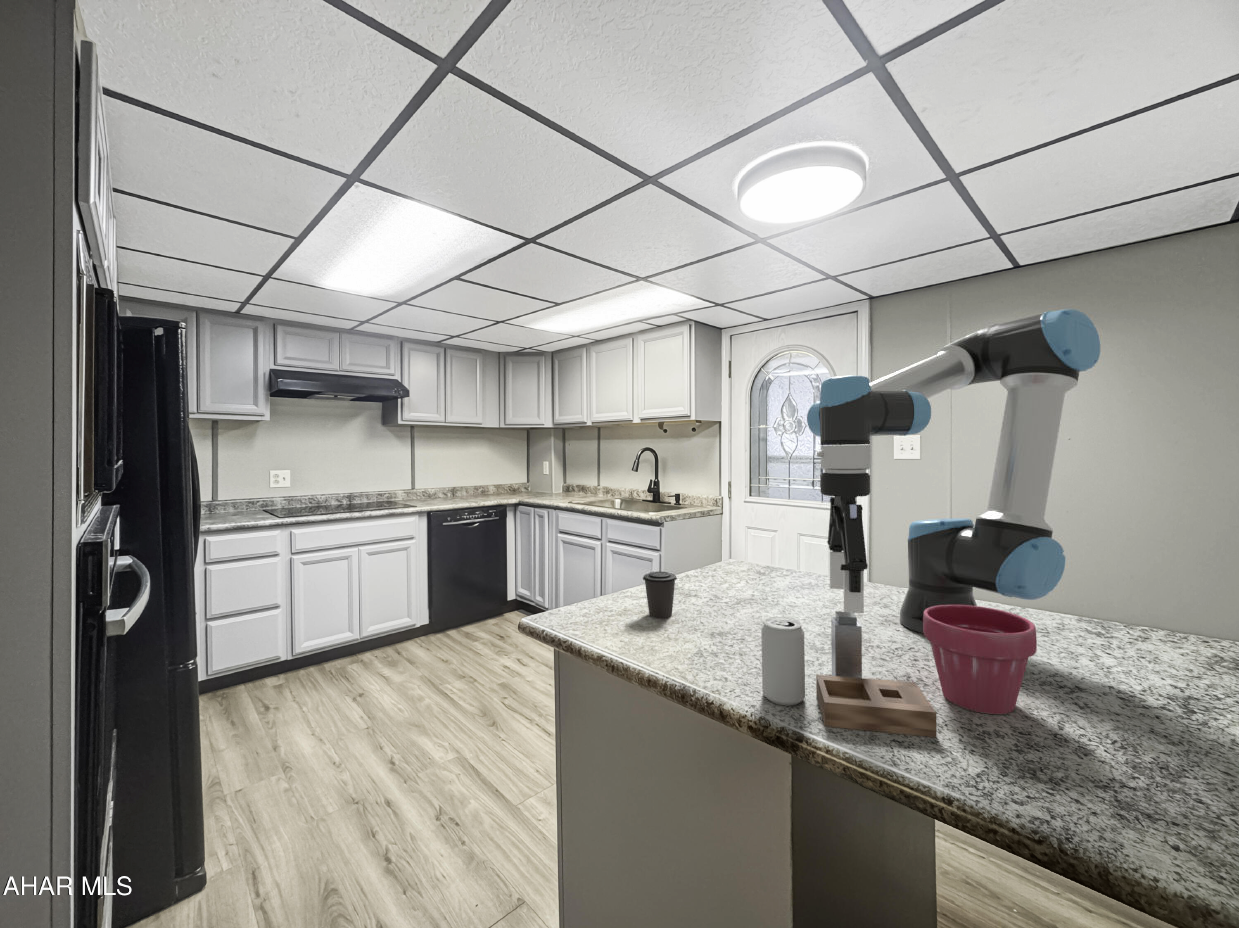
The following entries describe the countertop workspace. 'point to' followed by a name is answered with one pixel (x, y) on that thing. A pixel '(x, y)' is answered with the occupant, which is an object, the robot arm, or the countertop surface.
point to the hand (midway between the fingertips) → (845, 599)
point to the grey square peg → (846, 645)
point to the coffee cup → (660, 593)
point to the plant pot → (980, 654)
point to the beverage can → (783, 660)
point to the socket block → (875, 705)
